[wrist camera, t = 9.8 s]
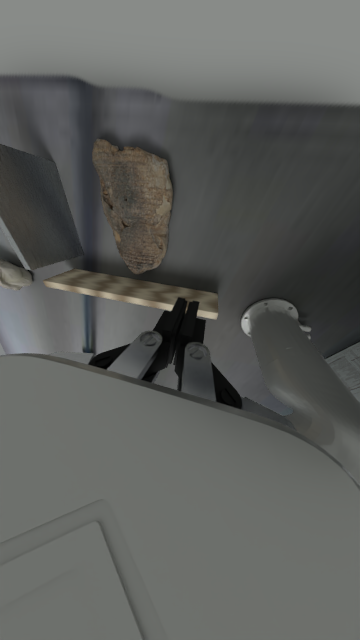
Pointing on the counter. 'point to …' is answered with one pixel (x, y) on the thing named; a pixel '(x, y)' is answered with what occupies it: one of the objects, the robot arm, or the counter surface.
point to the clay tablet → (135, 202)
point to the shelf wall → (133, 291)
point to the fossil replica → (13, 276)
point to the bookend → (35, 210)
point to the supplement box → (348, 368)
